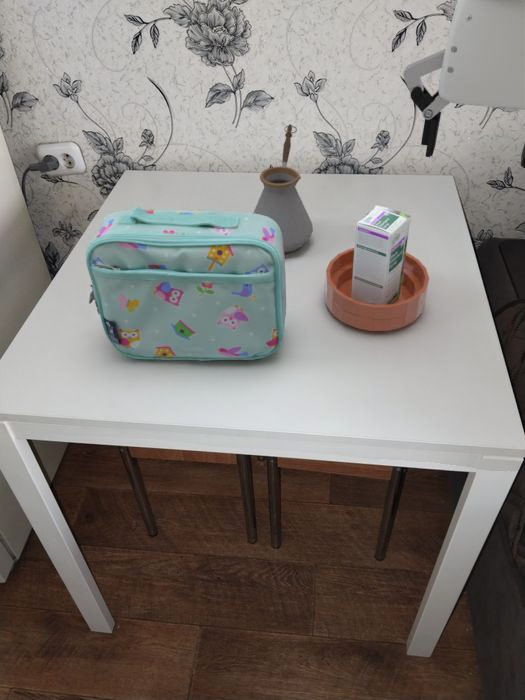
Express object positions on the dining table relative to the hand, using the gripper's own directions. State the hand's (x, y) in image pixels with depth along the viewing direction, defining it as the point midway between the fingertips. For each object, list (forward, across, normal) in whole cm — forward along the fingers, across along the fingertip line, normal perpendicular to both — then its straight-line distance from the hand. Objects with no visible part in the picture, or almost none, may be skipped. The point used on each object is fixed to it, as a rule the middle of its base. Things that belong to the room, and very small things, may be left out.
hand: (476, 156), depth 62 cm
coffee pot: (+31, +30, -27) cm, 51 cm away
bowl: (+30, +10, -10) cm, 33 cm away
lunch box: (+31, +33, +6) cm, 46 cm away
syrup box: (+30, +10, -10) cm, 33 cm away
